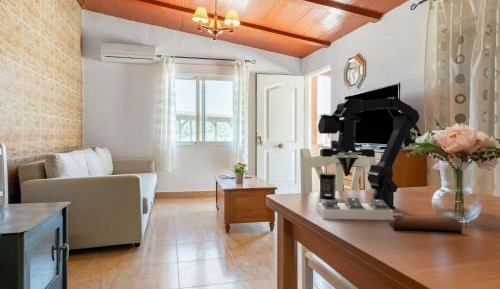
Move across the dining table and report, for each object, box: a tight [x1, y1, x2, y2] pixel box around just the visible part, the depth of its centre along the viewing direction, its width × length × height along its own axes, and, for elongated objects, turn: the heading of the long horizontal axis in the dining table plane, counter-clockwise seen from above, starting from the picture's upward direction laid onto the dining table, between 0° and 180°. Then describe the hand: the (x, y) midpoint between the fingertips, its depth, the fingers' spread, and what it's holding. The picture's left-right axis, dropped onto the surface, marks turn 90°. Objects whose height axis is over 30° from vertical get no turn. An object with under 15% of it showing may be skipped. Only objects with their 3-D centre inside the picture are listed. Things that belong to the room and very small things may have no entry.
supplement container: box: [319, 172, 337, 200], centre depth 134 cm, size 7×7×10 cm
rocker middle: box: [347, 197, 362, 208], centre depth 103 cm, size 4×5×1 cm
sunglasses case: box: [386, 215, 463, 234], centre depth 89 cm, size 18×7×7 cm
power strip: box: [317, 202, 404, 221], centre depth 104 cm, size 27×10×4 cm, turn 87°
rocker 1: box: [323, 200, 339, 205], centre depth 103 cm, size 4×5×1 cm
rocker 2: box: [370, 198, 388, 208], centre depth 102 cm, size 4×5×1 cm
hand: (346, 176), depth 113 cm, fingers closed
